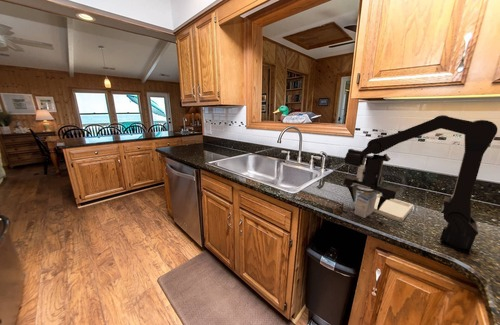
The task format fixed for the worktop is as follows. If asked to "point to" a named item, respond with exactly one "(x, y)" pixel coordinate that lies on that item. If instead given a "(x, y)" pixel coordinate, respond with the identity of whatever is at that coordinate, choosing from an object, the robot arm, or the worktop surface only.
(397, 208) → the dish
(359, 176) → the supplement tub
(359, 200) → the medicine box
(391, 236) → the worktop surface
